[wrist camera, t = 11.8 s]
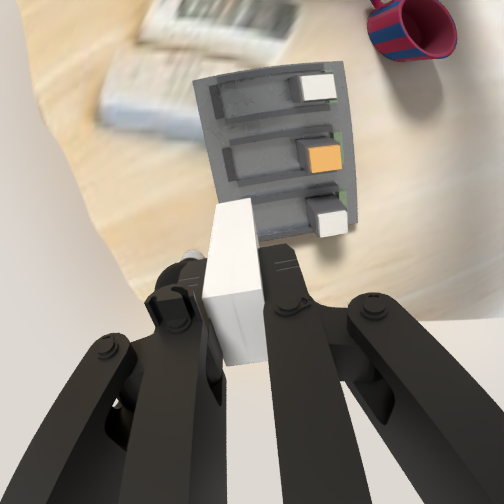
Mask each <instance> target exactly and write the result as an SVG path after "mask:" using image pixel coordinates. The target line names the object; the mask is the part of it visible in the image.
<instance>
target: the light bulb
mask: <svg viewBox="0 0 504 504" xmlns="http://www.w3.org/2000/svg"><path fill="white" fill-rule="evenodd" d="M200 259H204V258H203V255H202V254H201V253H200V252H198V251H196V250H189V251H187V252H185V253H184V255H183V257H182V260H181V261H180V262H179V263H175V264H173V265H171V266H169V267H167V268H166V269H165V270H164V271H163V272H162V273H161V275H160V276H159V278H158V279H157V282H156V285H155V291H156V290H158V289H160V288H161V287H163V286H167V285H171V284H177V283H178V281H179V276H180V272H181V270H182V269H183V267H184V266H185V265H186V264H187V263H188V262H189V261H194V260H200Z"/></svg>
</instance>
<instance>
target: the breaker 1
mask: <svg viewBox="0 0 504 504" xmlns="http://www.w3.org/2000/svg"><path fill="white" fill-rule="evenodd" d="M289 83H290V89H291V95H292V101H293V103H308V102H318V101H330V100H337V96H336V89H335V83H334V76H333V72H325V73H311V74H299V75H295V76H292V77H289Z"/></svg>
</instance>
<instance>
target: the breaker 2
mask: <svg viewBox="0 0 504 504" xmlns="http://www.w3.org/2000/svg"><path fill="white" fill-rule="evenodd" d="M306 204H307V214H308V221H309V223H310V225H311V227H312V229H313V230H314V232H315V234H316V236H317V237H321V238H322V237H327V236H333V235H339V234H344V233H348V222H347V207H346V206H345V205H344V204H343V203H342V202H341V201H340V200H339V199H338V198H337V196H336V195H335V194H334V195H327V196H321V197H315V198H308V199H306Z"/></svg>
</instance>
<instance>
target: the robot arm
mask: <svg viewBox="0 0 504 504" xmlns="http://www.w3.org/2000/svg"><path fill="white" fill-rule="evenodd" d="M144 304H145V306H146V308H147V310H148V312H149V314H150V316H151V318H152V321H153V323H154V325H155V331H154V334H152V335H150V336H147V337H145V338H142V339H139V340H136V341H133V342H129V340H128V338H127V337H126V336H125V335H123V334H120V333H110V334H107V335H104V336H102V337H101V338H99V339H98V340H96V341H95V342H94V343H93V345H92V346H91V347H90V348H89V350H88V351H87V353H86V354H85V356H84V357H83V359H82V360H81V362H80V363H79V365H78V366H77V368H76V369H75V371H74V372H73V374H72V375H71V377H70V378H69V380H68V381H67V383H66V384H65V386H64V388H63V389H62V391H61V392H60V394H59V396H58V397H57V399H56V400H55V402H54V404H53V405H52V407H51V409H50V410H49V412H48V414H47V415H46V417H45V419H44V420H43V422H42V424H41V425H40V427H39V429H38V431H37V432H36V434H35V436H34V437H33V439H32V441H31V443H30V445H29V446H28V448H27V450H26V452H25V454H24V456H23V457H22V459H21V461H20V463H19V465H18V467H17V469H16V471H15V473H14V475H13V477H12V479H11V481H10V483H9V485H8V487H7V489H6V491H5V493H4V495H3V497H2V499H1V502H0V504H227V466H226V465H227V460H226V377H225V374H224V372H223V369H222V367H223V359H224V361H225V364H226V366H234V365H242V364H250V363H256V362H263V361H268V363H269V372H270V381H271V391H272V400H273V410H274V419H275V428H276V438H277V448H278V457H279V466H280V476H281V486H282V496H283V504H372V501H371V496H370V492H369V488H368V484H367V480H366V475H365V471H364V467H363V463H362V460H361V456H360V452H359V448H358V444H357V440H356V437H355V433H354V430H353V426H352V422H351V418H350V415H349V411H348V408H347V404H346V401H345V397H344V394H343V390H342V387H341V384H340V381H345V383H346V384H347V386H348V388H349V389H350V391H351V392H352V394H353V395H354V397H355V398H356V400H357V401H358V403H359V404H360V406H361V407H362V409H363V410H364V412H365V413H366V415H367V416H368V418H369V419H370V421H371V423H372V424H373V425H374V427H375V429H376V430H377V432H378V433H379V435H380V436H381V438H382V439H383V441H384V442H385V444H386V445H387V447H388V448H389V450H390V452H391V453H392V455H393V456H394V458H395V459H396V461H397V462H398V464H399V465H400V467H401V468H402V470H403V471H404V473H405V474H406V476H407V478H408V479H409V481H410V482H411V483H412V485H413V487H414V488H415V490H416V491H417V493H418V494H419V496H420V498H421V499H422V501H423V502H424V504H504V412H503V411H502V409H501V408H500V407H499V406H498V405H497V404H496V402H494V400H493V399H492V398H491V397H490V396H489V395H488V394H487V392H486V391H485V390H484V389H483V388H482V387H481V386H480V385H479V384H478V383H477V382H476V380H475V379H474V378H473V377H471V375H470V374H469V373H468V372H467V371H466V370H465V369H464V368H463V367H462V366H461V365H460V364H459V362H458V361H457V360H456V359H455V358H454V357H453V356H452V355H451V354H450V353H449V352H448V351H447V350H446V349H445V348H444V347H443V346H442V345H441V344H440V343H439V342H438V341H437V340H436V339H435V338H434V337H433V336H432V335H431V334H430V333H429V332H428V331H427V330H426V329H425V328H424V327H423V326H422V325H421V324H420V323H419V322H418V321H417V320H416V319H415V318H414V317H413V316H411V315H410V314H409V313H408V312H407V311H406V310H405V309H404V308H403V307H402V306H401V305H400V304H399V303H398V302H397V301H396V300H394V299H393V298H391V297H390V296H388V295H385V294H381V293H365V294H361V295H359V296H357V297H355V298H354V299H352V301H351V302H350V303H349V305H348V308H335V307H327V306H324V305H320V304H319V303H317V302H315V301H314V300H313V298H312V297H311V296H310V295H309V294H308V291H307V288H306V285H305V281H304V278H303V275H302V272H301V269H300V267H299V263H298V260H297V257H296V254H295V251H294V249H292V248H291V247H290V246H288V245H287V244H280V245H274V246H269V247H263V248H260V247H259V241H258V236H257V230H256V225H255V220H254V214H253V209H252V204H251V198H246V199H241V200H235V201H230V202H225V203H220V204H216V210H215V216H214V222H213V228H212V234H211V240H210V247H209V253H208V258H206V259H200V260H194V261H189V262H188V263H187V264H186V265H185V266H184V267H183V269H182V270H181V272H180V276H179V281H178V283H177V284H171V285H167V286H163V287H161V288H160V289H158V290H156V291H154V292H153V293H152V294H151V295H149V296H148V298H147V299H146V301H145V303H144ZM116 398H117V399H118V401H119V402H118V403H117V405H116V406H115V407H112V405H113V404H114V402H115V400H116Z"/></svg>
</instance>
